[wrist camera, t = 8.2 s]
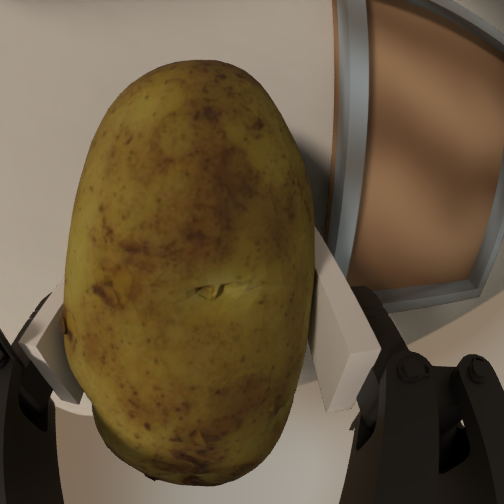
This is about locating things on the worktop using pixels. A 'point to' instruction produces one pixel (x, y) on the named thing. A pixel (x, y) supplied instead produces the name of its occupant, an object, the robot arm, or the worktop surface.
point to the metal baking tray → (416, 150)
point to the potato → (190, 274)
